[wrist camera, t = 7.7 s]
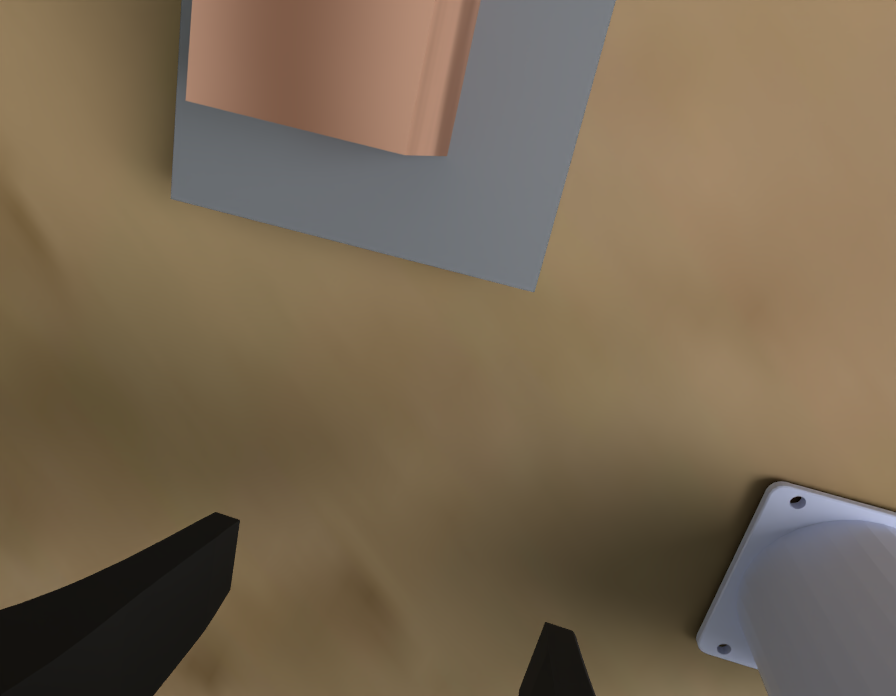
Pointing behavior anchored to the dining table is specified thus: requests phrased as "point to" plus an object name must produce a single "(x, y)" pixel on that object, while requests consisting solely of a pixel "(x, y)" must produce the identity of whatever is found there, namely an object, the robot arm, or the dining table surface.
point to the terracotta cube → (337, 66)
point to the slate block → (420, 177)
